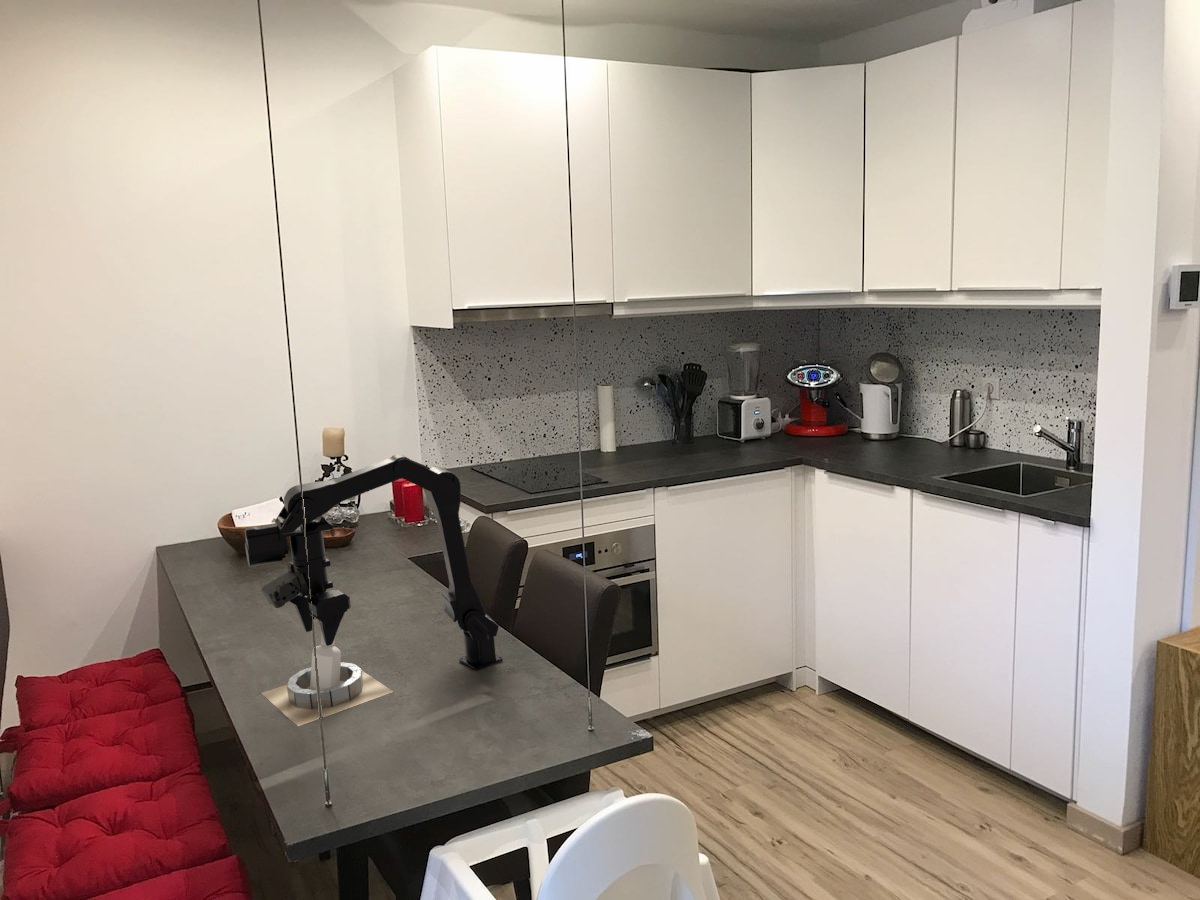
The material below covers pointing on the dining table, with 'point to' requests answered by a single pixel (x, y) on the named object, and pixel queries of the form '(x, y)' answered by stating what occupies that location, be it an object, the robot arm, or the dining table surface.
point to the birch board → (304, 716)
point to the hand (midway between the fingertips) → (318, 637)
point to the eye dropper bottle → (326, 666)
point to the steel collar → (328, 696)
